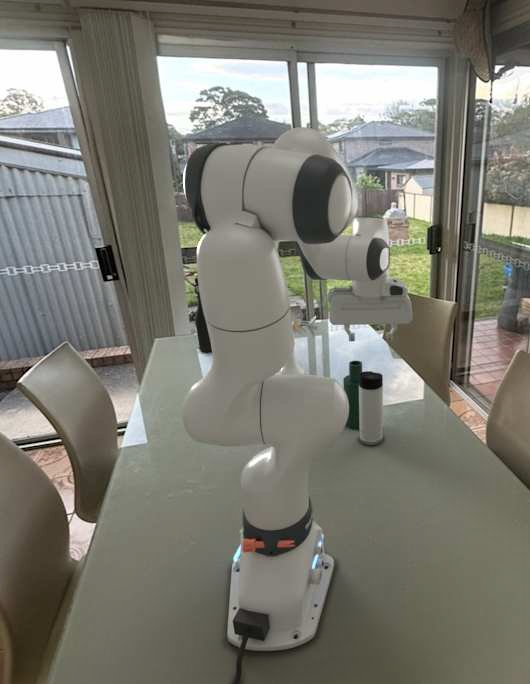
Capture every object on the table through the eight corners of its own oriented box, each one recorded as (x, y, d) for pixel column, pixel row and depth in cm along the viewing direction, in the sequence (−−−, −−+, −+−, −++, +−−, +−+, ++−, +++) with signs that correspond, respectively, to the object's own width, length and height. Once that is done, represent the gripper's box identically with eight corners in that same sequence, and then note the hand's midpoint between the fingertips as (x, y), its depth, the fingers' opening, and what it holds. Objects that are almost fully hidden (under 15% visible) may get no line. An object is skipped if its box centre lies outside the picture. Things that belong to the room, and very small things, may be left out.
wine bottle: (194, 351, 180) (183, 279, 169) (206, 344, 187) (196, 275, 176) (211, 353, 178) (200, 280, 167) (223, 346, 185) (213, 276, 174)
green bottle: (369, 428, 125) (368, 368, 119) (344, 429, 125) (342, 368, 118) (368, 415, 132) (367, 357, 125) (344, 416, 132) (343, 358, 125)
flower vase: (325, 381, 154) (322, 313, 145) (276, 395, 144) (269, 323, 135) (308, 368, 164) (304, 304, 155) (261, 381, 155) (254, 313, 146)
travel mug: (354, 442, 119) (353, 375, 112) (366, 430, 125) (365, 366, 117) (375, 448, 116) (375, 380, 109) (386, 436, 122) (386, 370, 115)
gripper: (326, 289, 102) (328, 345, 107) (414, 288, 102) (412, 344, 107) (327, 283, 108) (329, 336, 112) (411, 282, 108) (409, 335, 113)
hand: (370, 340), depth 110 cm, fingers open, 8 cm apart
